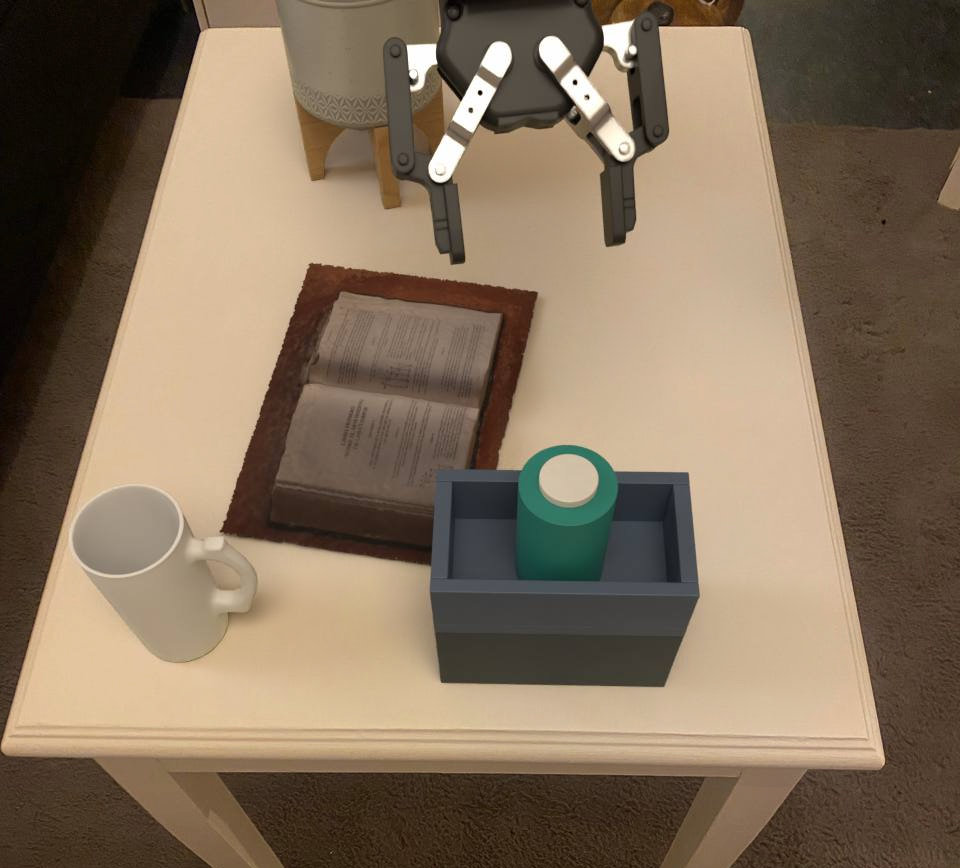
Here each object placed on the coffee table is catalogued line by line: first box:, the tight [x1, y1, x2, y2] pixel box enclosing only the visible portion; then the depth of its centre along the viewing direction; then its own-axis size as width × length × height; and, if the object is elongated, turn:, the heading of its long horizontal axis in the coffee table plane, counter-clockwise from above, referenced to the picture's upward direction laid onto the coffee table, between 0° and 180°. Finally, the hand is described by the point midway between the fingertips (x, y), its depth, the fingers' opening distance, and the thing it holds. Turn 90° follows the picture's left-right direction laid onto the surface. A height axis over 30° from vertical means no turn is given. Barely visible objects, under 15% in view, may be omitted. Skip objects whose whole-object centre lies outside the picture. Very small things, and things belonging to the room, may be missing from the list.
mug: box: [67, 482, 259, 663], centre depth 61 cm, size 10×7×12 cm, turn 87°
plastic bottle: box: [515, 444, 618, 581], centre depth 54 cm, size 5×5×9 cm
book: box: [219, 262, 539, 566], centre depth 74 cm, size 20×28×4 cm
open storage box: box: [429, 469, 701, 688], centre depth 60 cm, size 15×9×12 cm, turn 88°
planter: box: [275, 0, 446, 210], centre depth 81 cm, size 13×13×18 cm
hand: (537, 254), depth 50 cm, fingers open, 8 cm apart
